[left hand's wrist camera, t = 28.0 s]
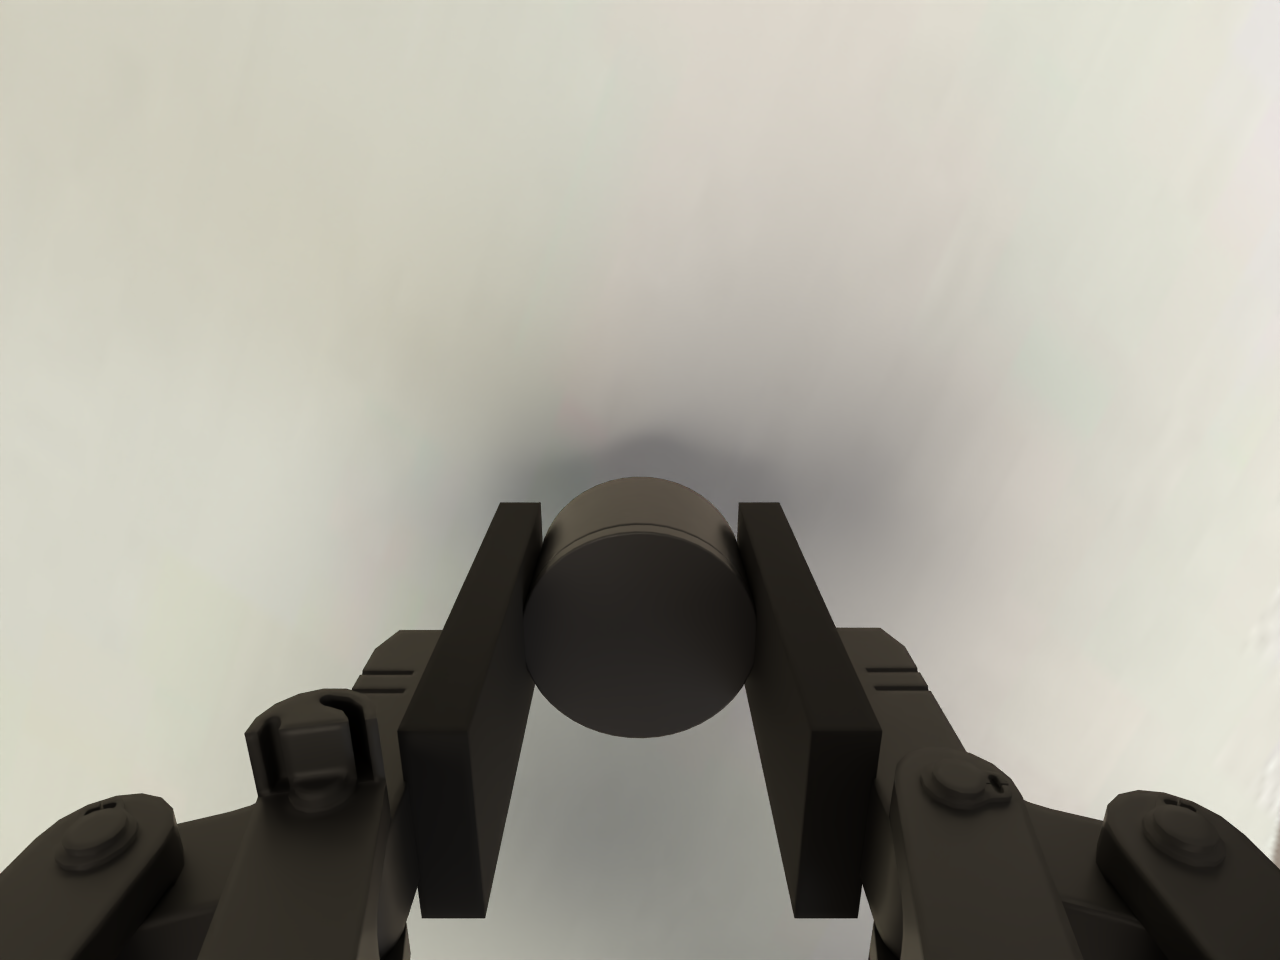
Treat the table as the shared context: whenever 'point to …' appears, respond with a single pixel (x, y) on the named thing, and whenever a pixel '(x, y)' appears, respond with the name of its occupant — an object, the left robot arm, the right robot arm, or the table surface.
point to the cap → (639, 610)
